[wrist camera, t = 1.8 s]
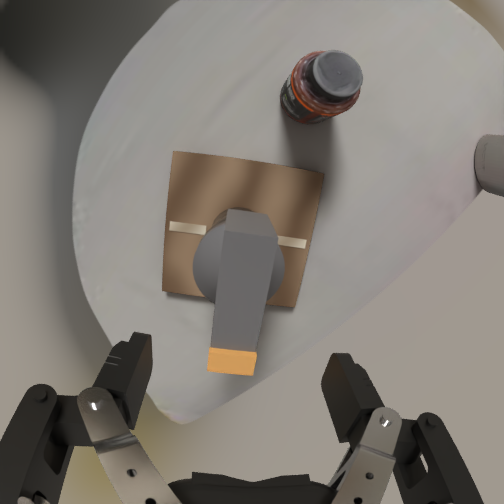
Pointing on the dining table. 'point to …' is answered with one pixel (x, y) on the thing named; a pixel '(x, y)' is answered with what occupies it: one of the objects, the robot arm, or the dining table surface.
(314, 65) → the supplement bottle
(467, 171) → the dining table surface
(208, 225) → the base
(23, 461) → the robot arm
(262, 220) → the wing cap
